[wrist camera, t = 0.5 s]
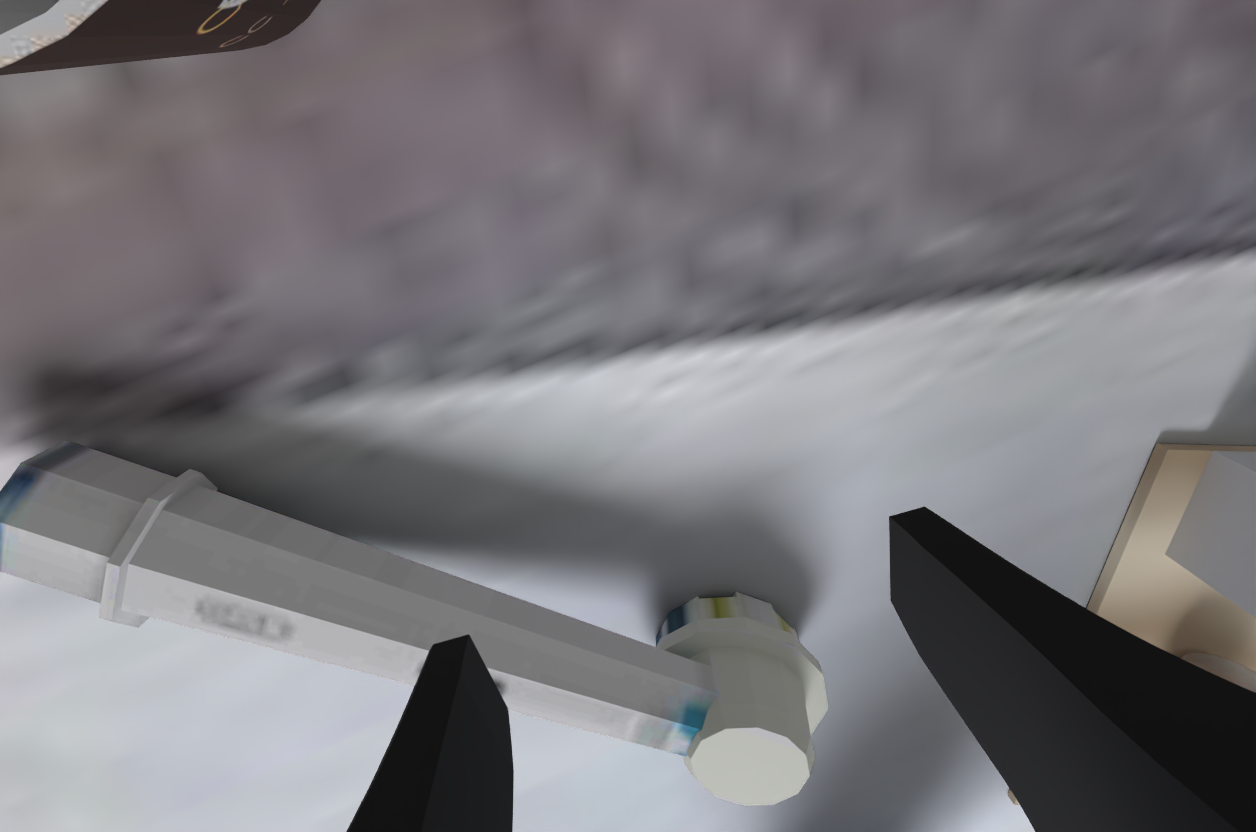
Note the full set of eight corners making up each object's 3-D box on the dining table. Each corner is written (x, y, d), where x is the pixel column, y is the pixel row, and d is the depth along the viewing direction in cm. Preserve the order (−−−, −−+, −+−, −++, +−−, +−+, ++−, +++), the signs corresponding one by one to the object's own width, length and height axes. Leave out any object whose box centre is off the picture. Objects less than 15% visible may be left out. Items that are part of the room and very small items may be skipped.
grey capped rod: (-26, 459, 16) (897, 765, 19) (157, 376, 23) (834, 617, 26) (-37, 627, 18) (811, 885, 21) (136, 507, 24) (772, 718, 27)
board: (1197, 785, 33) (1206, 794, 33) (1007, 794, 32) (1014, 804, 31) (1390, 450, 26) (1405, 456, 26) (1156, 443, 25) (1167, 449, 24)
